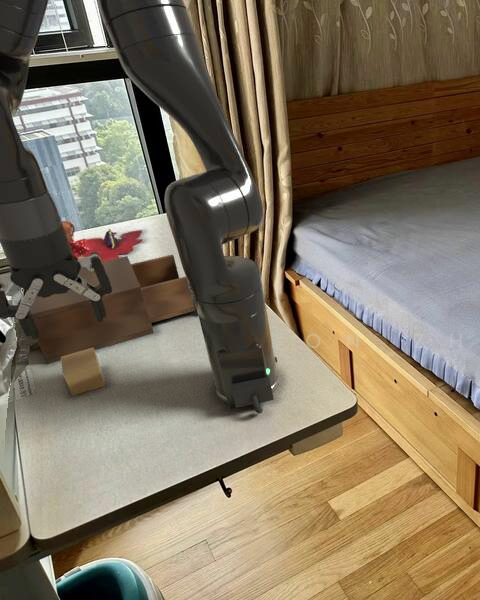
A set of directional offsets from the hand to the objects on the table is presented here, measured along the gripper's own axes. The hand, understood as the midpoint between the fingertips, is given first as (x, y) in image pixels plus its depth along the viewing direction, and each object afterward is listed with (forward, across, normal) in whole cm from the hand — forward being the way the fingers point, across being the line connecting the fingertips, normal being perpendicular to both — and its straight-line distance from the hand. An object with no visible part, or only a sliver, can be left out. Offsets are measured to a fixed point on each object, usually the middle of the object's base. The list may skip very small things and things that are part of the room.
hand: (68, 327), depth 81 cm
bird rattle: (+10, -2, -35) cm, 36 cm away
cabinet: (+10, -3, -16) cm, 19 cm away
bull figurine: (+11, +4, -59) cm, 60 cm away
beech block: (+10, 0, +1) cm, 10 cm away
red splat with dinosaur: (+11, -8, -54) cm, 55 cm away
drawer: (+9, -17, -16) cm, 25 cm away
